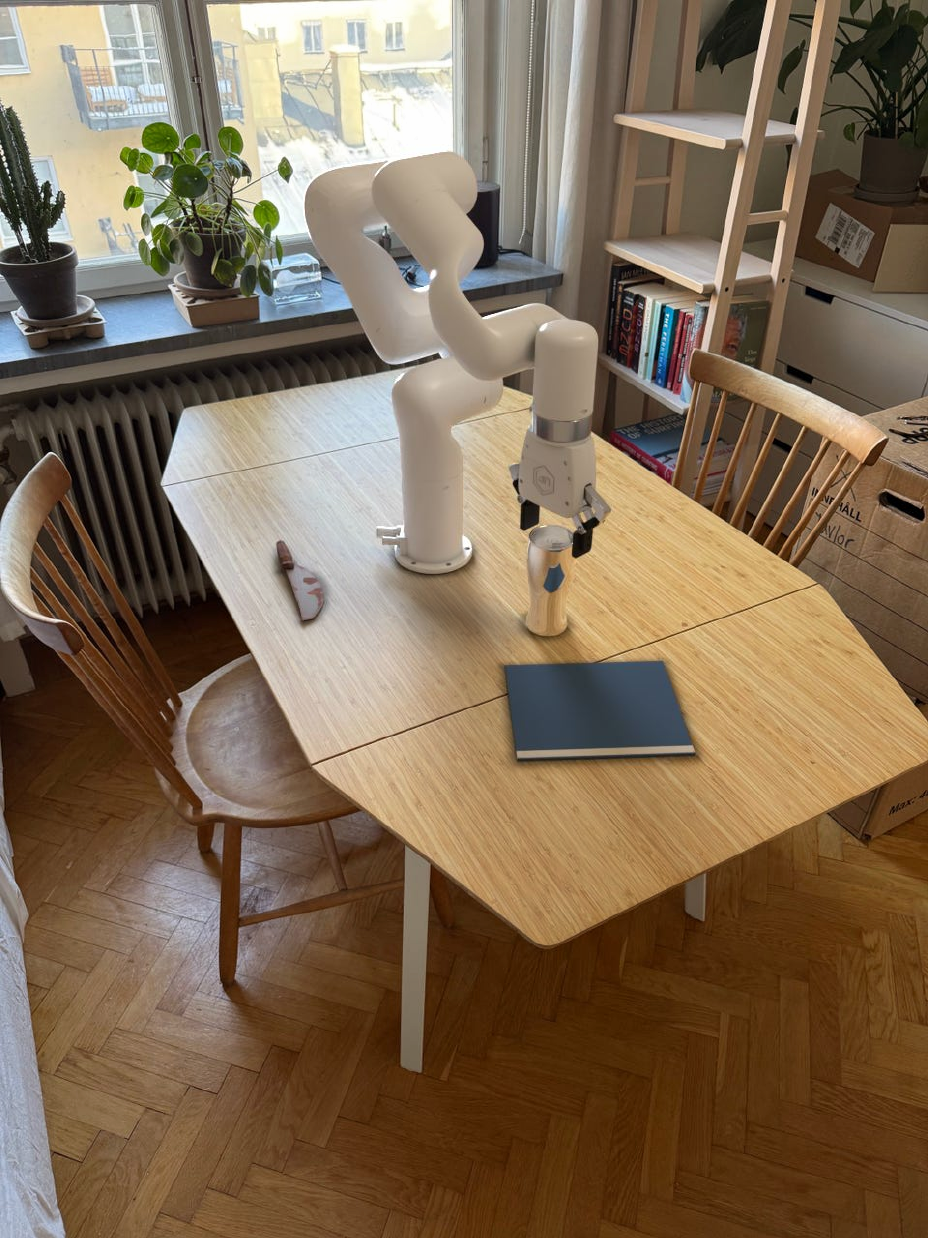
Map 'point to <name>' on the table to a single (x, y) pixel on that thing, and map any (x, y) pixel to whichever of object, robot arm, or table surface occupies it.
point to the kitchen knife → (301, 584)
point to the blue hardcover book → (595, 711)
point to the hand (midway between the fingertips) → (554, 540)
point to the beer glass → (549, 578)
